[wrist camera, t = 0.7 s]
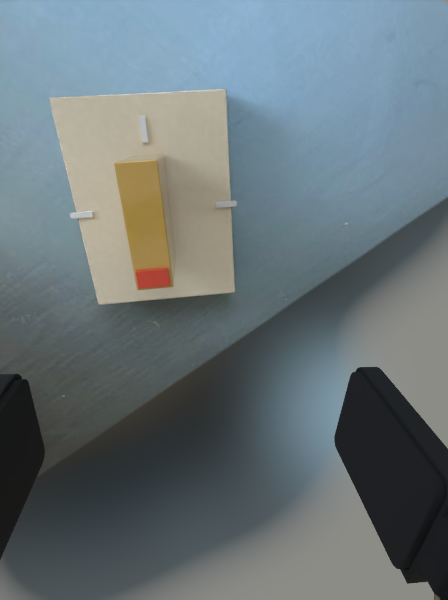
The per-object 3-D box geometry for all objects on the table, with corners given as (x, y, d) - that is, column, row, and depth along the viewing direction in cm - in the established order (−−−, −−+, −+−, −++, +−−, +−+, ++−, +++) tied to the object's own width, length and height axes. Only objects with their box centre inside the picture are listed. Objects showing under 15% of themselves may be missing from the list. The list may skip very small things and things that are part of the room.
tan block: (130, 156, 21) (112, 162, 15) (163, 154, 21) (156, 159, 16) (147, 258, 23) (136, 292, 18) (176, 255, 24) (173, 289, 18)
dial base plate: (56, 101, 21) (40, 97, 19) (227, 93, 22) (232, 87, 19) (101, 291, 27) (93, 306, 24) (235, 279, 28) (240, 293, 25)
